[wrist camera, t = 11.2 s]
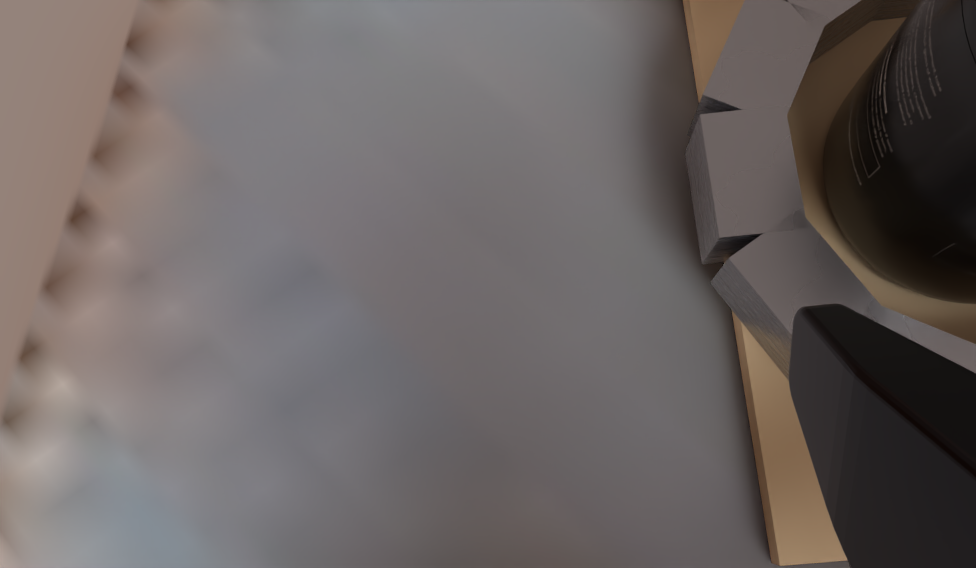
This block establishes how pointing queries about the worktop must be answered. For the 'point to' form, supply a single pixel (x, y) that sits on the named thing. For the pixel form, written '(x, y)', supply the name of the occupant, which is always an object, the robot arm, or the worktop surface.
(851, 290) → the steel ring
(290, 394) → the worktop surface
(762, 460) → the oak board
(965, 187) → the supplement bottle
